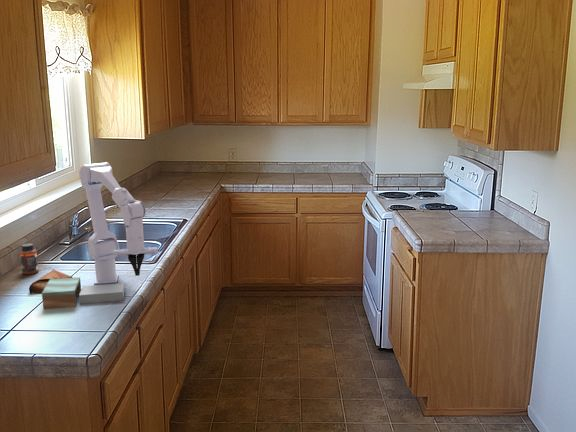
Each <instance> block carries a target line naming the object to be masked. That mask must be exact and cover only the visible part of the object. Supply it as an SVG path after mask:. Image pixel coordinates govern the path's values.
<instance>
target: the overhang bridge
mask: <svg viewBox="0 0 576 432" xmlns="http://www.w3.org/2000/svg"><path fill="white" fill-rule="evenodd" d="M81 289H82V285H81V277H72V278H63V279H50V280H49V282H48V283H47V285H46V287H45V289H44V290H43V292H42V293H41V299H42V306H43V308H42V309H43V310H46V309H58V308H69V307H70V308H73V307H74V308H75V307H76V306H77V299H76V297H77V296H76V294H80V292H81Z"/></svg>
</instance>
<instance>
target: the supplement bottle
mask: <svg viewBox="0 0 576 432" xmlns="http://www.w3.org/2000/svg"><path fill="white" fill-rule="evenodd" d="M19 256H20V266H21V272H22V274H24V275H33V274H37V273H38V272H39V262H38V254H37V248H34V244H33V243H31V242H30V243H28V242H27V243H25V244H24V243H23V244H22V245H21V250H20V251H19Z"/></svg>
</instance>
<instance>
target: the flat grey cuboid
mask: <svg viewBox="0 0 576 432" xmlns="http://www.w3.org/2000/svg"><path fill="white" fill-rule="evenodd" d="M125 291H126V287H125V282H120V283H117V282H116V283H103V284H93V285H92V284H91V285H90V284H89V285H82V286H81V292H80V293H78V295H79V296H78V297H79V298H78V299H79V304H81V305H82V304H91V303H104V302H105V303H106V302H117V301H124V298H125Z"/></svg>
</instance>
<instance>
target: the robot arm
mask: <svg viewBox="0 0 576 432" xmlns="http://www.w3.org/2000/svg"><path fill="white" fill-rule="evenodd" d="M113 172H114V171H113V168H112V166H111V164H110V163H109V162H107V161H105V162H99V163H98V162H97V163H89V164H88V163H87V164H82V165H81V167H80V169H79V172H78V173H79V174H78V175H79V177H80V178H79V179H80V183H81V188H83V189H85V192H86V199H87V204H88V208H89V209H88V210H89V215H90V219H91V224H92V229H93V233H92V235H91V236H90V237H89V238H88V240H87V241H88V242H87V243H88V248H87V249H88V254H89V256H90V258H92V259H93V260H94V269H95V279H94V282H93V285H103V284H117V282H118V279H119V273H118V272H117V270H116V269H117V268H116V258H118V257H125V256H127V259H128V262H129V263H130V265H131V266H132V269H133V271H134V275H135V276H136V277H137V276H140V274H141V267H142V264H143V261H144V259H145V255H158V254H159V252H158V251H159V250H158V247H156V246H155V247H150V246H149V247H147V246H145V237H144V236H145V235H144V224H143V223H144V222H143V221H144V220H143V218H145V216H146V207H145V204H144V203H143V201H142V200H137V199H135V198H134V196H133V195H132V194H131V193H130V192H129V191H128V189H126V188H125V187H121V185H120V184H119V182H118V181H117V179H116V178H115V177H114V175H113ZM103 186H104V187H105V188H106V189H107V190H108V191H109V192H110V193H111V199H112V200H113V202H114V203H115V204H116V205H117V206H118V208H119V209H120V215H121V218H122V219H123V221H122V222H123V225H125V236H126V237H125V238H126V248H122V249H121V248H120V243H119V241H118V240H117V236H116V234H115V233H113V232H112V231H109V228H108V222H107V218H106V217H107V216H106V212H105V207H104V202H103V197H102V192H101V189H102V187H103Z"/></svg>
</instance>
